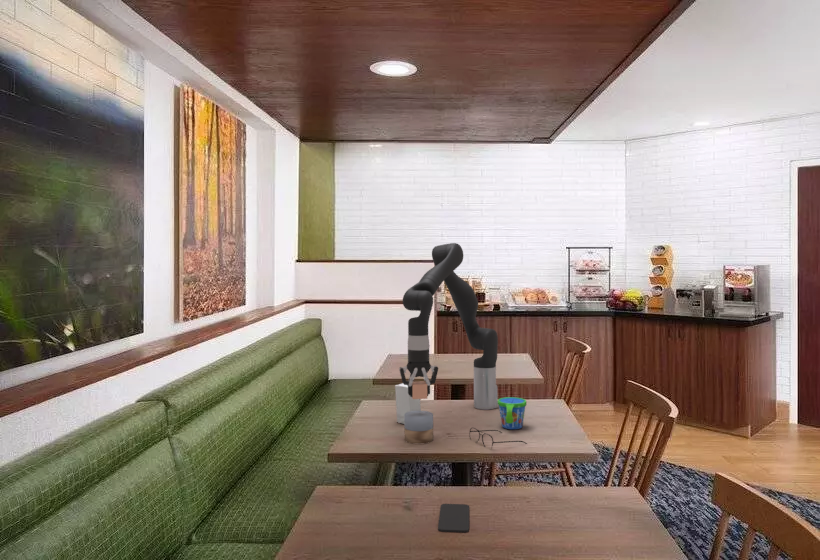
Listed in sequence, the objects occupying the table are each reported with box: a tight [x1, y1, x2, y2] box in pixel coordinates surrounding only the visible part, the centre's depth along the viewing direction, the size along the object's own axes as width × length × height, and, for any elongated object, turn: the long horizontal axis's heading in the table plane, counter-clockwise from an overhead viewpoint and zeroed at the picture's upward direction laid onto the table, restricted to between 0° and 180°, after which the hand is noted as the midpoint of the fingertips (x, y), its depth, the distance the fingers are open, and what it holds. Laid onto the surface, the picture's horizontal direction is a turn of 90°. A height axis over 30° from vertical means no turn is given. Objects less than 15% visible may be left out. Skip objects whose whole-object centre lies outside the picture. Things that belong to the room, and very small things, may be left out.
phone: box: [437, 503, 470, 534], centre depth 148 cm, size 7×1×15 cm
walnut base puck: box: [404, 427, 434, 444], centre depth 210 cm, size 10×10×4 cm
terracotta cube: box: [412, 380, 428, 400], centre depth 210 cm, size 5×5×5 cm
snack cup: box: [498, 396, 527, 430], centre depth 223 cm, size 16×10×10 cm
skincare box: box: [394, 382, 422, 425], centre depth 231 cm, size 8×6×15 cm
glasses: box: [469, 427, 528, 450], centre depth 207 cm, size 14×15×5 cm
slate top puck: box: [403, 410, 434, 431], centre depth 210 cm, size 10×10×4 cm
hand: (418, 395), depth 211 cm, fingers closed on terracotta cube, 5 cm apart
